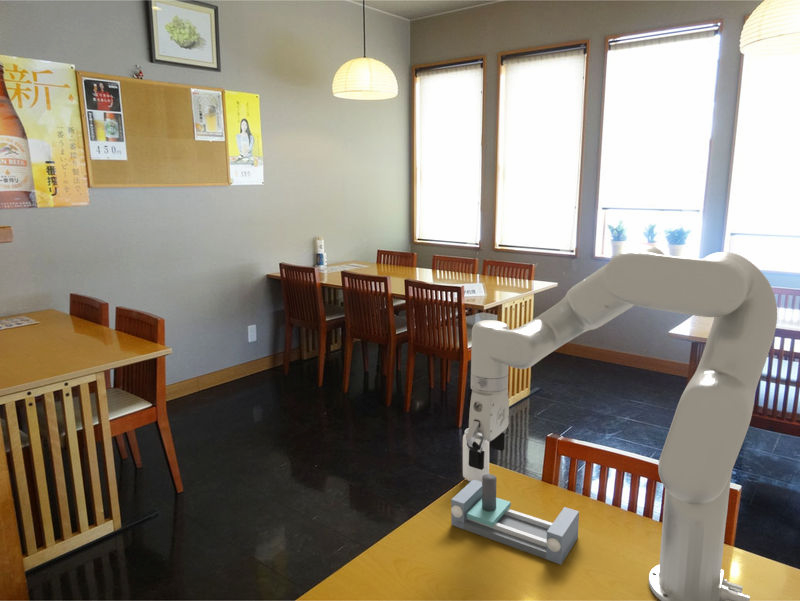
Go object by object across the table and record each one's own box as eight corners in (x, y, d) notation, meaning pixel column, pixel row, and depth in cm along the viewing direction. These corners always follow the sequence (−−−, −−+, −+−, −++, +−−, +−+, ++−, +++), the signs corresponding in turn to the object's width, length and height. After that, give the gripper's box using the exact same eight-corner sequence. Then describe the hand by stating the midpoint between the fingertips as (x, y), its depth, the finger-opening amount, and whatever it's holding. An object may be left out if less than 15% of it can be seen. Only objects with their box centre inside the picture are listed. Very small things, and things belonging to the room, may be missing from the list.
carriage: (510, 506, 123) (511, 472, 122) (492, 526, 116) (492, 491, 114) (485, 498, 127) (485, 465, 125) (466, 517, 119) (466, 483, 118)
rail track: (577, 537, 116) (578, 511, 115) (560, 565, 108) (561, 537, 106) (473, 503, 129) (473, 479, 128) (450, 525, 121) (450, 500, 120)
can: (488, 470, 144) (488, 426, 141) (489, 483, 138) (490, 438, 135) (462, 470, 145) (462, 426, 142) (462, 483, 138) (462, 437, 136)
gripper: (486, 398, 106) (484, 481, 110) (523, 372, 120) (520, 446, 124) (452, 390, 111) (450, 470, 114) (491, 366, 125) (488, 438, 128)
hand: (486, 457), depth 119 cm, fingers open, 9 cm apart
